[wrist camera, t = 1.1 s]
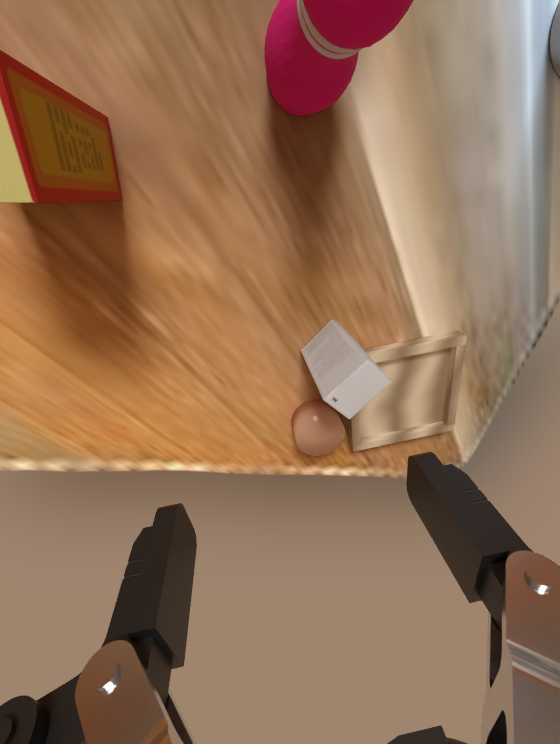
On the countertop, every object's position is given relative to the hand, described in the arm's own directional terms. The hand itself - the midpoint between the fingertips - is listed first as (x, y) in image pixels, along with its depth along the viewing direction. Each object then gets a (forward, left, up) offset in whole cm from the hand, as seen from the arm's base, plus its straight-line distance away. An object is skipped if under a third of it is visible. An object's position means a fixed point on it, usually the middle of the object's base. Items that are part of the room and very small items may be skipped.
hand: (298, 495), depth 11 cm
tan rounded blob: (-5, +21, -30) cm, 37 cm away
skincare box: (-8, +9, -30) cm, 32 cm away
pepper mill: (-8, -18, -30) cm, 36 cm away
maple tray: (-18, +19, -30) cm, 40 cm away
